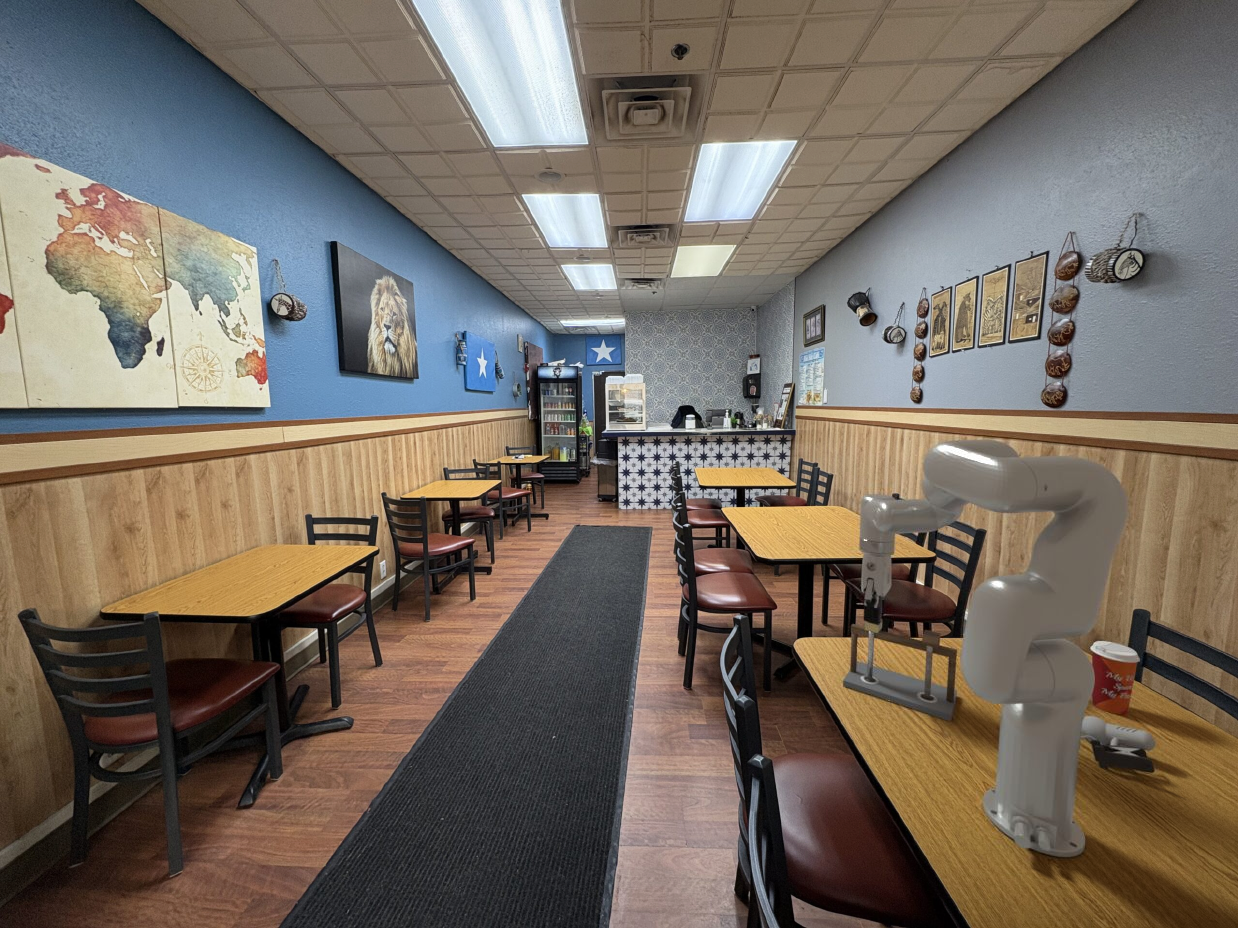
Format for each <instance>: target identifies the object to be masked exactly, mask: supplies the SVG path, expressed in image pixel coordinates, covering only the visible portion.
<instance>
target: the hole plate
mask: <svg viewBox="0 0 1238 928" xmlns="http://www.w3.org/2000/svg"><path fill="white" fill-rule="evenodd" d="M867 668H868V663H865V662H862V661H859V660H857V668H856V673H853V672H851V671H850V670H848V672H847V674H846V675H845V677H844V679H843V680H842V687H844V686H846V687H845V688H847V687H849V688H848V689H850V688H852V689H851V690H853V689H855V690H854V691H856V690H858V691H857V692H859V691H861V692H860V693H863V692H864V693H863V694H866V693H869V694H871V695H870V696H872V695H874V696H873V697H875V696H877V697H876V698H878V697H880V698H879V699H881V698H883V699H882V700H884V699H887V700H890V701H893V702H895V703H894V704H896V703H898V704H897V705H899V704H901V705H900V706H902V705H903V706H902V707H906V708H909V709H911V708H912V710H915V711H918V712H921V713H924V714H927V715H930V716H933V717H936V718H939V719H942V720H945V721H948V722H952V717H953V714H954V710H955V705H956V702H957V701H956V700H957V695H958V690H957V689H955V690H954V702H953V703H951V702H948V701H947V700H946V697H947V686H944V685H940V684H937V683H934V682H931V693H930V695H929V696H926V695H925V693H924V688H925V679H924V680H923V679H920V678H916V677H913V676H909V675H907V674H903V673H900V672H896V671H893V670H889V669H885V668H882V667H878V666H876V665H873V677H872V678H869V677H868V676H867ZM869 694H868V695H869ZM887 700H886V701H887ZM890 701H889V702H890ZM893 702H892V703H893Z"/></svg>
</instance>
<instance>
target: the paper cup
mask: <svg viewBox="0 0 1238 928" xmlns="http://www.w3.org/2000/svg"><path fill="white" fill-rule="evenodd" d="M1090 650H1091V652H1092V654H1091V655H1092V656H1091V657H1092V658H1091V661H1092V662H1091V664H1092V666H1093V669H1094V675H1095V682H1094V688H1093V692H1092V695H1091V700H1092V702H1091V703H1092V705H1094V706H1095V707H1096V708H1098V709H1100V710H1101V711H1104V712H1106V713H1110V714H1114V715H1119V716H1123V715H1124V716H1125V715H1127V714H1128V711H1129V708H1130V703H1131V697H1132V693H1133V692H1132V691H1133V687H1134V682H1135V676H1136V671H1137V668H1138V667H1137V666H1138V662H1141V659H1140V657H1139V655H1138V653H1137V651H1135V650H1134V649H1133V648H1131V647H1128V646H1126V645H1123V644H1120V643H1117V642H1111V641H1105V640H1097V641H1095V642H1093V644H1092V645H1091V646H1090Z"/></svg>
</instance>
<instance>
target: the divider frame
mask: <svg viewBox="0 0 1238 928" xmlns="http://www.w3.org/2000/svg"><path fill="white" fill-rule="evenodd" d="M850 633H851V636H850V637H851V639H850V641H851V642H850V669H849V671H851V672H853V673H856V668H857V661H858V660H857V659H858V640H859V639H858V637H859V636H858V635H860V636H864V637H868V638H869V631H867V630H865V625H864V626H863V625H859V624H854V623H852V624H851V625H850ZM874 639H877V640H880V641H883V642H884V641H885V642H888V643H891V644H892V643H893V644H896V645H899V646H903V647H908V648H911V649H916V650H919V651H923V652H925V653H926V654H925V655H926V656H925V673H924V681H925V688H924V693H925V695H926V696H929V695H930V693H931V683H932V675H933V674H932V671H933V655H938V656H942V657H945V658H948V664H947V681H946V682H947V683H946V687H947V697H946V700H947V701H948V702H951V703H953V702H954V690H956V688H955V687H956V671H957V667H956V666H957V656H958V649H956V648H952V647H949V646H944V645H940V643H941V632H936V631H932V630H927V629H925V630H924V632H923V634H922V635H921V640H920V639H916V638H912V637H907V636H904V635H899V634H896V633H891V632H887V631H883V630H880V632H879V633H875V632H874Z"/></svg>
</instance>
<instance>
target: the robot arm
mask: <svg viewBox="0 0 1238 928" xmlns="http://www.w3.org/2000/svg"><path fill="white" fill-rule="evenodd" d="M922 471H923V475H924V477H923V478H922V481H921V491H922V493H923V495H924V498H913V499H912V498H910V499H907V498H906V499H895V497H893V496H891V495H887V494H880V493H879V494H875V493H874V494H873V493H872V494H866V495H863V496H862V497H861V500H860V514H859V515H860V517H859V543H858V544H859V545H858V550H859V552H860V553H863V554H862V561H861V562H862V565H861V581H860V583H861V584H860V587H861V590H860V591H861V592H862V593H863V594H864V603H863V621H864V622H865V621H867V622H871V623H875V624H878V622H879V607H878V599H879V596H880V597H882V614H881V617H884V615H885V596H886V595H887V594H888V592H889V591H890V589H891V588H892V556H893V555H894V554H895V545H896V541H895V539H896V535H897V534H898V535H900V534H914V533H916V534H919V533H930V532H935V531H938V530H940V529H943V528H945V527H947V526H948V525H949V526H950V524H952V523H955V522H956V521H958V520H959V519H960V518H961V516H962V514H963V512H964V509H965V505H968V504H972V505H974V506H977V507H979V508H981V509H983V510H987V511H990V512H994V513H999V514H1024V513H1025V514H1026V513H1030V514H1031V513H1044V512H1045V513H1046V512H1053V514H1054V516H1053V517H1052V519H1051V520H1050V521H1049V522H1048V524H1046V526H1045V527H1043V529H1042V530H1041V532H1040V533H1039V534H1038V536H1037V537H1036V539H1035V542H1034V544H1033V548H1032V554H1031V558H1030V561H1029V564H1028V567H1027V569H1026V570H1025V571H1024V572H1023V573H1020V574H1008V575H998V576H997V575H996V576H993V577H990V578H987V579H986V580H983V581H982V582H981V583H980V584H979V585H978V586H977V587H976V588H975V590H974V591H973V594H972V596H971V599H970V602H969V607H968V612H967V616H966V621H965V626H964V627H965V629H964V633H963V638H962V643H961V649H960V657H959V658H960V659H959V661H960V669H961V673H962V676H963V679H964V681H965V683H966V685H967V687H968V688H969V689H970V691H971V692H972V693H974V695H976V697H979V698H980V699H981V700H984V702H985V701H986V702H989V703H991V704H994V705H995V704H996V705H1002V707H1001V711H1000V712H1001V714H1000V723H999V734H998V735H999V736H998V738H999V739H998V749H997V762H996V763H997V764H996V765H997V766H996V778H995V787H993V788H990V789H988V790H987V791H985V793H984V795H983V799H982V805H983V806H982V807H983V810H984V813H985V814H986V816H987V818H989V820H990V821H991V822H992V824H994V825H995V827H997V828H998V829H999V830H1000V831H1001V832H1002V833H1004V834H1006V836H1008V837H1010V838H1011V839H1012V840H1013V841H1014V842H1015V844H1016V845H1017V846H1018V847H1020V848H1021V849H1026V850H1028V849H1031V850H1032V851H1033V850H1034V851H1036V852H1039V853H1041V854H1045V855H1047V856H1048V855H1049V856H1053V857H1059V858H1071V857H1077V856H1079V855H1081V854H1082V853H1083V852H1084V851H1085V847H1086V837H1085V833H1084V832H1083V830H1082V828H1081V827H1080V825H1079V824H1078V823H1077V822H1076V820H1074V819H1073V818H1074V808H1075V799H1076V797H1075V796H1076V788H1077V787H1076V785H1077V778H1078V777H1077V775H1078V765H1079V753H1080V752H1079V751H1080V746H1081V745H1080V744H1081V739H1080V737H1081V736H1082V734H1081V728H1082V722H1083V720H1084V719H1085V713H1086V711H1087V708H1088V706H1089V703H1090V700H1091V699H1092V692H1093V688H1094V682H1095V675H1094V669H1093V666H1092V662H1091V659H1090V658H1089V656H1088V655H1087V653H1085V652H1084V650H1082V648H1081V647H1080V646H1078V645H1077V644H1076V643H1074V642H1072V641H1070V640H1068V639H1069V638H1075V637H1076V638H1077V637H1081V636H1083V635H1087V634H1088V633H1090V632H1091V631H1092V629H1093V628H1094V626H1095V624H1096V622H1097V620H1098V617H1099V612H1100V608H1101V605H1102V602H1103V598H1104V593H1105V591H1106V587H1107V582H1108V579H1109V575H1110V570H1111V564H1112V562H1113V558H1114V555H1115V552H1116V550H1117V548H1118V544H1119V543H1120V540H1121V537H1122V535H1123V533H1124V529H1125V526H1126V524H1127V519H1128V515H1129V514H1128V513H1129V503H1128V497H1127V494H1126V491H1125V489H1124V487H1123V484H1122V483H1121V481H1120V480H1119V479H1118V478H1117V476H1116V475H1115V474H1114V473H1113V472H1112V471H1111V470H1110V469H1108V468H1107V467H1105V466H1103V465H1102V464H1100V463H1098V462H1096V461H1093V460H1090V459H1087V458H1082V457H1076V456H1067V455H1066V456H1065V455H1045V456H1043V455H1042V456H1025V457H1024V456H1022V457H1020V455H1019V454H1018V452H1017V451H1016V449H1014V447H1012V446H1011V445H1009V444H1007V443H1005V442H1002V441H999V440H995V439H994V440H993V439H961V440H960V439H959V440H956V439H955V440H946V441H941V442H939V443H937V444H935V445H934V446H932V447H931V448H930V449H929V450H928V451H927V453H926V454H925V456H924V458H923V463H922ZM894 556H895V555H894ZM872 596H873V597H875V600H874V599H873V598H872Z"/></svg>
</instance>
